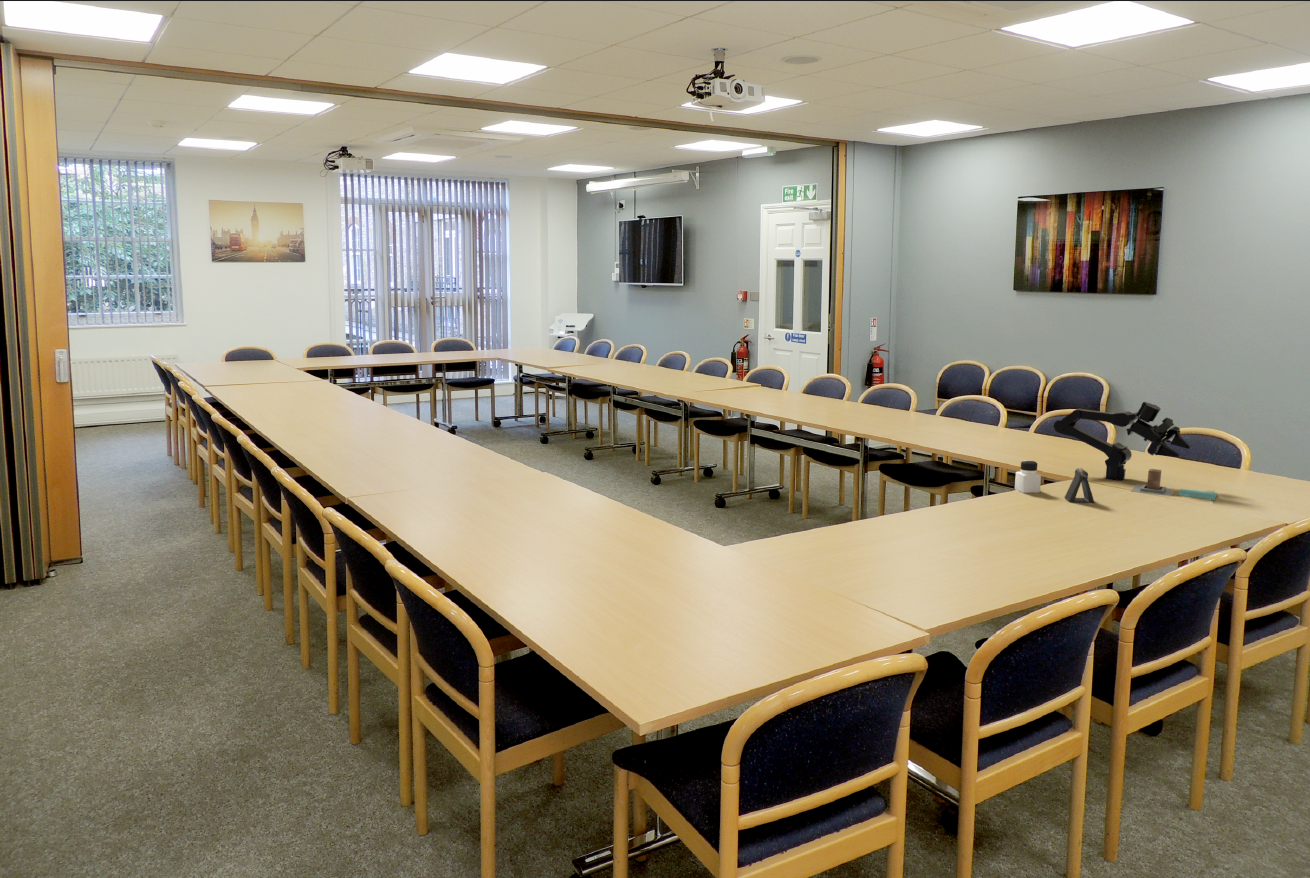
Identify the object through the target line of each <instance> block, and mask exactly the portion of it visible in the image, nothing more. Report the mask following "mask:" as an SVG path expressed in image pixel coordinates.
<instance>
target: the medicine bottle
mask: <svg viewBox="0 0 1310 878" xmlns="http://www.w3.org/2000/svg"><path fill="white" fill-rule="evenodd" d="M1041 480H1042V475H1041V474H1040V473H1038V462H1036V461H1035V460H1029V459H1028V460H1023V461H1021V462H1020V470H1019V471H1015V480H1014V489H1015V490H1016V491H1018V492H1020V491H1021V492H1020V493H1022V494H1031V493H1032V494H1033V493H1035V494H1036V493H1041V483H1042V481H1041Z"/></svg>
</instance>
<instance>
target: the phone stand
mask: <svg viewBox="0 0 1310 878" xmlns="http://www.w3.org/2000/svg"><path fill="white" fill-rule="evenodd" d="M1088 478H1089V474H1088V472H1087V471H1086V470H1084V469H1083V468H1081V467H1080V468H1079V467H1077V468H1075V470H1074V477H1073V478H1072V481H1071V483H1070V485H1069V487H1068V490H1067V491H1066V493H1065V495H1064V499H1065V500H1067V501H1068V502H1069V503H1079V504H1081V503H1086V504H1094V503H1095V499H1094V496H1093V493H1092V490H1091V485H1090V482H1089V480H1088ZM1080 487H1082V493H1083V497H1077V494H1078V492H1079V489H1080Z"/></svg>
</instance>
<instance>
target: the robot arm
mask: <svg viewBox="0 0 1310 878" xmlns="http://www.w3.org/2000/svg"><path fill="white" fill-rule="evenodd" d="M1160 412H1161V408H1160V406H1158V405H1156V404H1153V403H1150V402H1147V401H1142V403H1141V405H1140V407H1139V409H1138V410H1137V412H1134V413H1133V412H1131V411H1113V412H1109V411H1108V412H1107V411H1100V410H1092V409H1084V408H1076V409H1074V410H1072V412H1070V413H1069V414H1068V415H1066V416H1064V417H1063V418H1061V419H1057V420H1056V421H1055V422H1054V423H1053V429H1054V431H1055V433H1058V434H1060V435H1064V436H1067V437H1072V438H1075V439H1076V440H1078V441H1081V442H1082V443H1084V444H1086V445H1089V446H1091V447H1093V449H1097V451H1098V450H1099V451H1100V452H1101V453H1104V454H1105V456H1107V459H1105V461H1104V462H1105V463H1104V464H1105V466H1106V468H1105V469H1106V470H1105V477H1104V479H1105V480H1112V481H1121V482H1122V481H1123V480H1125V479H1126V471H1127V470H1126V468H1125V465H1126V463H1127V462H1129V461H1130V460H1131V459H1132V451H1131V450H1130V449H1129V448H1128V446H1126V445H1124V444H1122V443H1120V442H1118V441H1117V442H1116V443H1109V442H1108V441H1106V440H1104V439H1101V438H1099V437H1098V436H1096V435H1094V434H1092V433H1090V432H1088V431H1086V430H1084V429H1083V428H1080V427H1079V425H1078V424H1077V423H1078V422H1079V421H1080V420H1088V421H1098V422H1105V423H1109V424H1112V425H1114V426H1118V427H1121V428H1124V427H1127V426H1130V427H1128V428H1126V429H1125V431H1126V434H1127V436H1130V435H1133V434H1134V433H1135V434H1136V435H1138V436H1140V437H1141V438H1143V441H1144V442H1147V441H1148V442H1150V444H1149V446H1148V448H1147V450H1146V451H1147V453H1148V455H1150V456H1152V457H1153V456H1164V457H1165V456H1166V457H1167V456H1168V457H1173V458H1178V457H1180V453H1178V452H1176V451H1175V450H1174V449H1172V448H1170V447H1169V446H1168V445H1167V443H1169V444H1170V445H1173V446H1176V447H1179V448H1182V449H1183V448H1184V449H1190V448H1191V445H1189V443H1188V442H1186V440H1184V438H1183V437H1182V436H1181V428H1179V426H1176V425H1175V423H1174V420H1173V419H1172V418H1170V417H1165V418H1164V419H1162V420H1161V421H1162V423H1161V424H1159V425H1158V424H1154V425H1151V424H1150V423H1151V422H1154V421H1155V419H1156V417H1157V416H1158V414H1159V413H1160Z"/></svg>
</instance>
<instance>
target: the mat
mask: <svg viewBox="0 0 1310 878" xmlns="http://www.w3.org/2000/svg"><path fill="white" fill-rule="evenodd" d="M1217 495H1218V492H1214V491H1213V492H1212V491H1204V490H1196V489H1195V490H1194V489H1189V488H1181V489H1180V491H1179V492H1178V494H1177V496H1179V497H1189V498H1194V499H1195V498H1197V499H1204V500H1210V501H1211V502H1215V501H1216V498H1217Z"/></svg>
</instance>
